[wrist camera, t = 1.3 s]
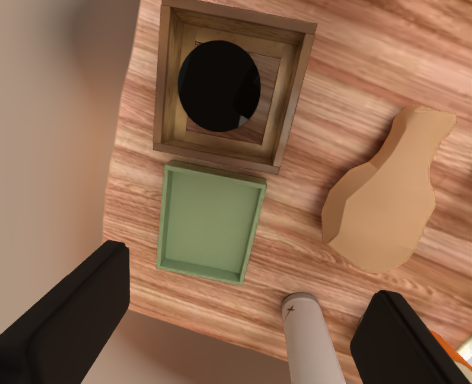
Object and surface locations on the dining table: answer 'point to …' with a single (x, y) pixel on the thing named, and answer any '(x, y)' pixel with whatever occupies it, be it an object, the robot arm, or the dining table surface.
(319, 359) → the travel mug
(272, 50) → the brown wooden square frame
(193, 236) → the tray
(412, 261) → the dining table surface
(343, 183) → the squash
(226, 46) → the supplement container
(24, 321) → the robot arm
